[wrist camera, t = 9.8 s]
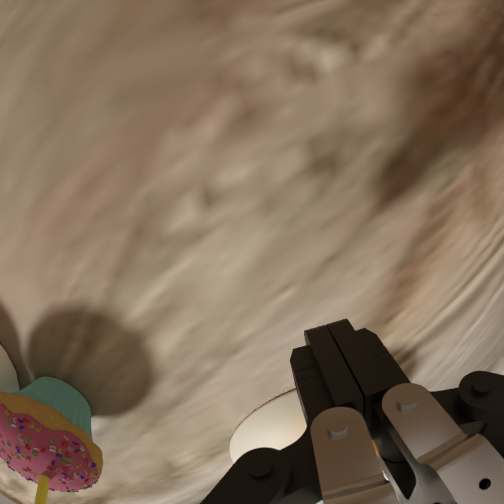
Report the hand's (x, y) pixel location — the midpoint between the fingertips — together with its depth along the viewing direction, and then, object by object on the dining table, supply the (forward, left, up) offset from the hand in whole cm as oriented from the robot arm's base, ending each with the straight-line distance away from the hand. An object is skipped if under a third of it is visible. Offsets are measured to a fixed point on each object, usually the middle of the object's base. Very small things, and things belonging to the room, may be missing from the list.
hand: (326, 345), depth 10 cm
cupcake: (-14, +12, -6) cm, 19 cm away
